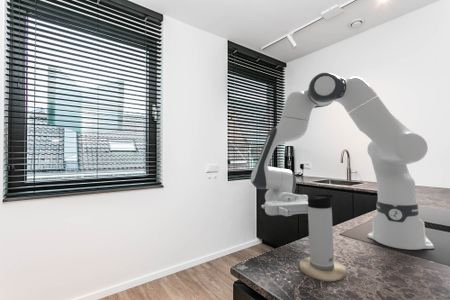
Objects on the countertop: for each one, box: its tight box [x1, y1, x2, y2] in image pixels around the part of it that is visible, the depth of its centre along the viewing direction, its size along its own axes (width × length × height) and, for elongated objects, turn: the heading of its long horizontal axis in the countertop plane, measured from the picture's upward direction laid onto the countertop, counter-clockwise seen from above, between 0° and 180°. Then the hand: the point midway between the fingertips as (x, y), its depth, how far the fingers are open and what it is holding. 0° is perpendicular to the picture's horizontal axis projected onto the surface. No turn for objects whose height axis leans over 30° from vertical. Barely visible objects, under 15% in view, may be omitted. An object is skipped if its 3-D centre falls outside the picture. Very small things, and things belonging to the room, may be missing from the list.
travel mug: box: [307, 193, 335, 271], centre depth 65 cm, size 6×7×20 cm
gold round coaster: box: [299, 256, 347, 282], centre depth 65 cm, size 12×12×1 cm
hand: (302, 212), depth 76 cm, fingers open, 8 cm apart
